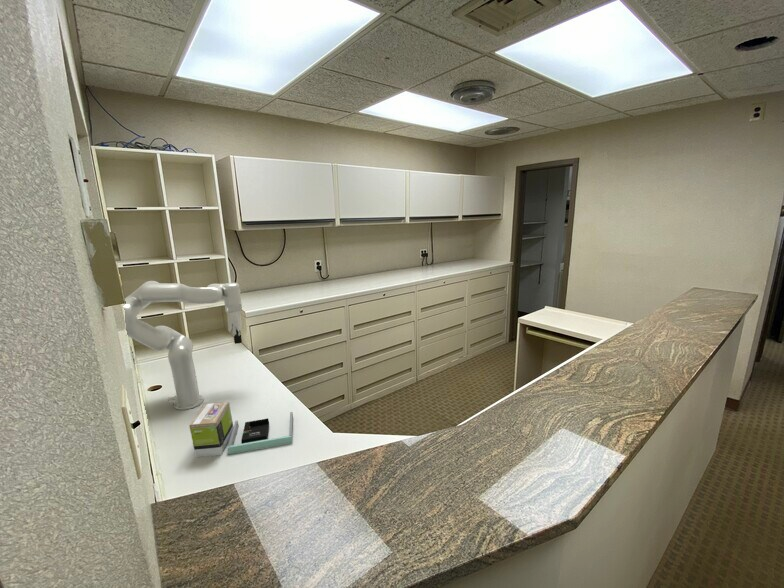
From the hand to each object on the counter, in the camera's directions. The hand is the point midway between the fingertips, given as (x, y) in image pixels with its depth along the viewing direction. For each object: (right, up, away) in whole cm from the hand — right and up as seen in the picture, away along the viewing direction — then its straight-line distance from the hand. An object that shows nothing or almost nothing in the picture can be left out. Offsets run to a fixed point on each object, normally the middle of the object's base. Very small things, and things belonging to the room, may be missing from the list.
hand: (238, 342), depth 179 cm
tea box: (+6, -36, -35) cm, 51 cm away
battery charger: (+21, -35, -31) cm, 52 cm away
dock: (+24, -34, -30) cm, 51 cm away
